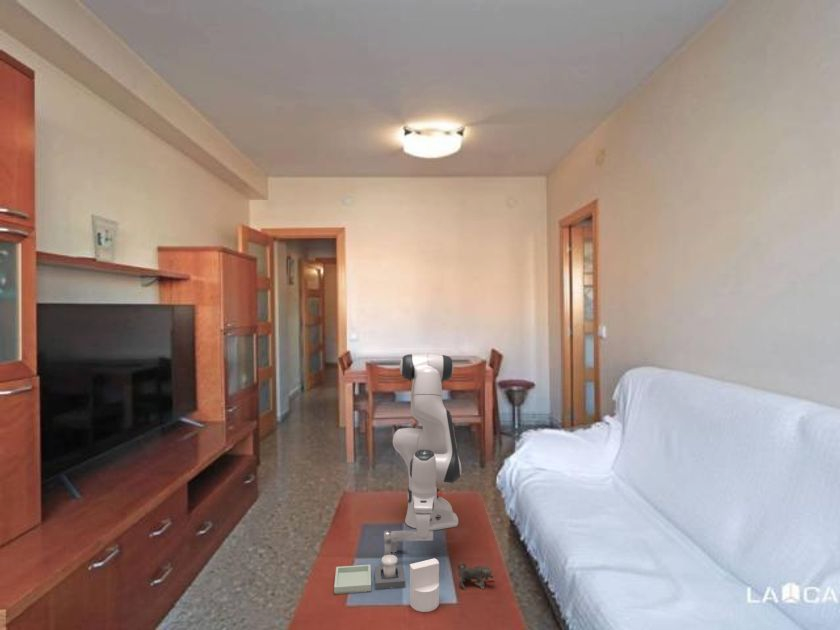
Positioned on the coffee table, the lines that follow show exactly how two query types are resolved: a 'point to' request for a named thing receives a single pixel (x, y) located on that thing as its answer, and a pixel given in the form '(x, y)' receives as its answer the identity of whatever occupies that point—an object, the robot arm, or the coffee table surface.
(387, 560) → the plug
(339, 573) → the tray
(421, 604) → the cylinder with rectangular tab
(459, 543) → the coffee table surface
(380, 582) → the socket
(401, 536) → the grey square bar
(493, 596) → the coffee table surface
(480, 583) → the dog figurine
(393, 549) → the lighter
